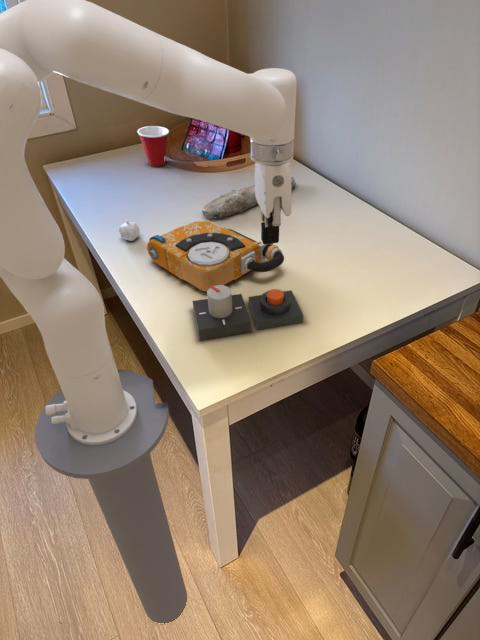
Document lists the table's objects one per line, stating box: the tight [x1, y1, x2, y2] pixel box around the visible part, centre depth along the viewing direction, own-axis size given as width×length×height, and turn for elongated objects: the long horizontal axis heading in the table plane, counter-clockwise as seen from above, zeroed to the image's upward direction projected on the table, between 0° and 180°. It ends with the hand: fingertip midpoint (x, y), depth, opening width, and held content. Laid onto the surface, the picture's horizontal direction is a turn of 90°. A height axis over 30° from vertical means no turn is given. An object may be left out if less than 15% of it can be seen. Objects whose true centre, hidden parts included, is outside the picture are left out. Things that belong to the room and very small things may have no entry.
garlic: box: [118, 219, 141, 242], centre depth 133 cm, size 6×5×5 cm
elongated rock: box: [201, 176, 297, 219], centre depth 148 cm, size 35×5×10 cm
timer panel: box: [192, 293, 252, 341], centre depth 104 cm, size 11×10×3 cm
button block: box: [248, 289, 304, 330], centre depth 106 cm, size 10×9×4 cm
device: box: [146, 219, 285, 292], centre depth 119 cm, size 23×8×30 cm
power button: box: [266, 288, 284, 305], centre depth 104 cm, size 4×4×2 cm
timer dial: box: [206, 285, 233, 318], centre depth 102 cm, size 5×5×5 cm
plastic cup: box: [136, 125, 170, 168], centre depth 171 cm, size 11×11×12 cm
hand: (269, 241), depth 96 cm, fingers closed
